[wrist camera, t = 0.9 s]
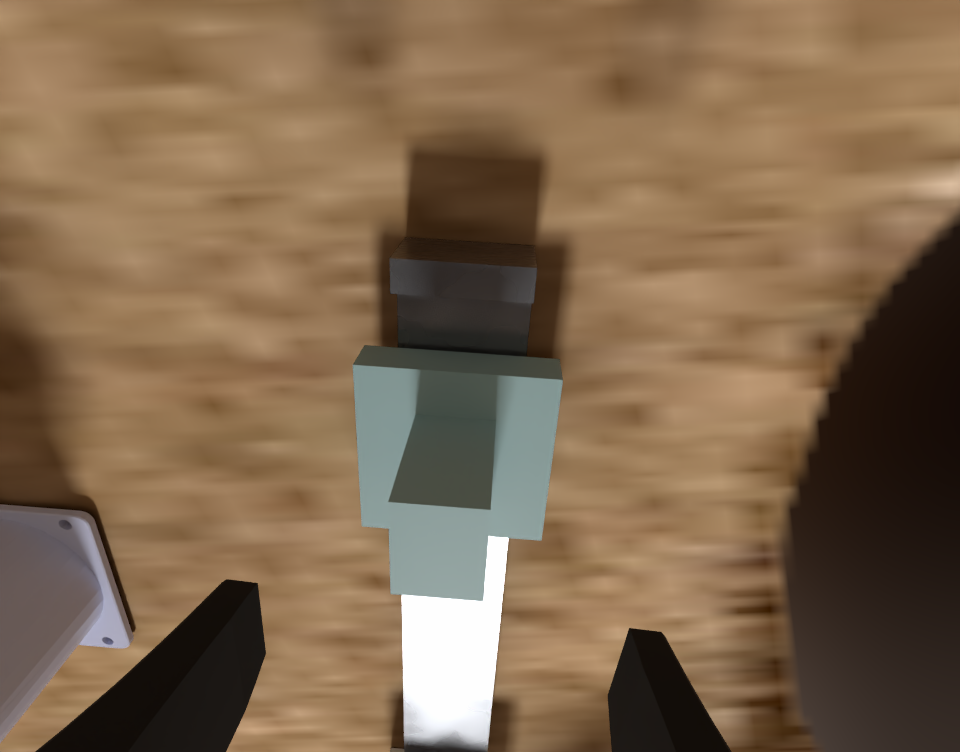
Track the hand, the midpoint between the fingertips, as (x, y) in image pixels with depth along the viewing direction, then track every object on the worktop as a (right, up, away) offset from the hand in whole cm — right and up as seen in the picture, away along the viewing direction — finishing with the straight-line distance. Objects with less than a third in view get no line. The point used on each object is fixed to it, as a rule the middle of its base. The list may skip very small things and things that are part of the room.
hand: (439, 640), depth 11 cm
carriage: (0, +3, +8) cm, 8 cm away
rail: (0, -2, +12) cm, 12 cm away
